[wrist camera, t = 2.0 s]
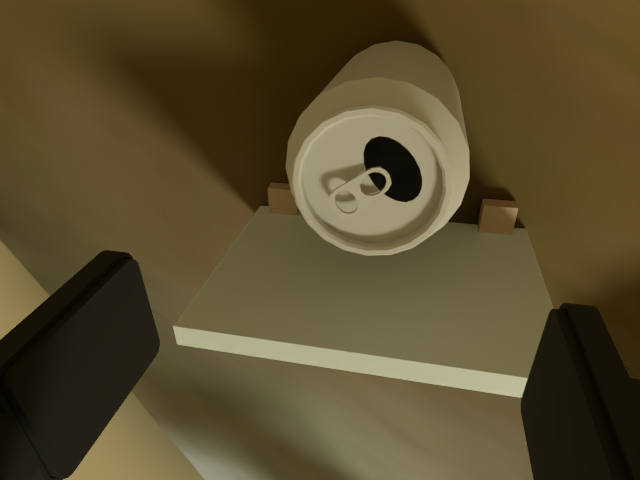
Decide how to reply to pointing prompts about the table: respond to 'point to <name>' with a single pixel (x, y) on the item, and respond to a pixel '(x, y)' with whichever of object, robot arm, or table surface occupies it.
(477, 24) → the table surface
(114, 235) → the table surface
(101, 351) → the robot arm
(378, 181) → the can
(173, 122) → the table surface
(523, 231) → the screen
